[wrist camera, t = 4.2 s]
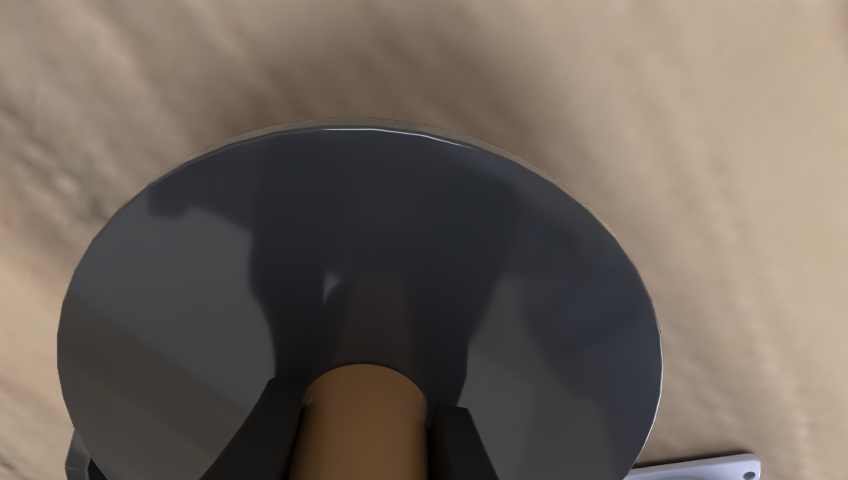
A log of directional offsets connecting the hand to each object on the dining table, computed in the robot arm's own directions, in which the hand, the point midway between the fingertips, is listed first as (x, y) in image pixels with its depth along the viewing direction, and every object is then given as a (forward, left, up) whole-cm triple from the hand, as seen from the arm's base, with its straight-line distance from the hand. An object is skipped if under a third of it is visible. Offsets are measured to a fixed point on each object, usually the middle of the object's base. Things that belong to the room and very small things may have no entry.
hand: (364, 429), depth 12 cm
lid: (0, 0, -1) cm, 1 cm away
